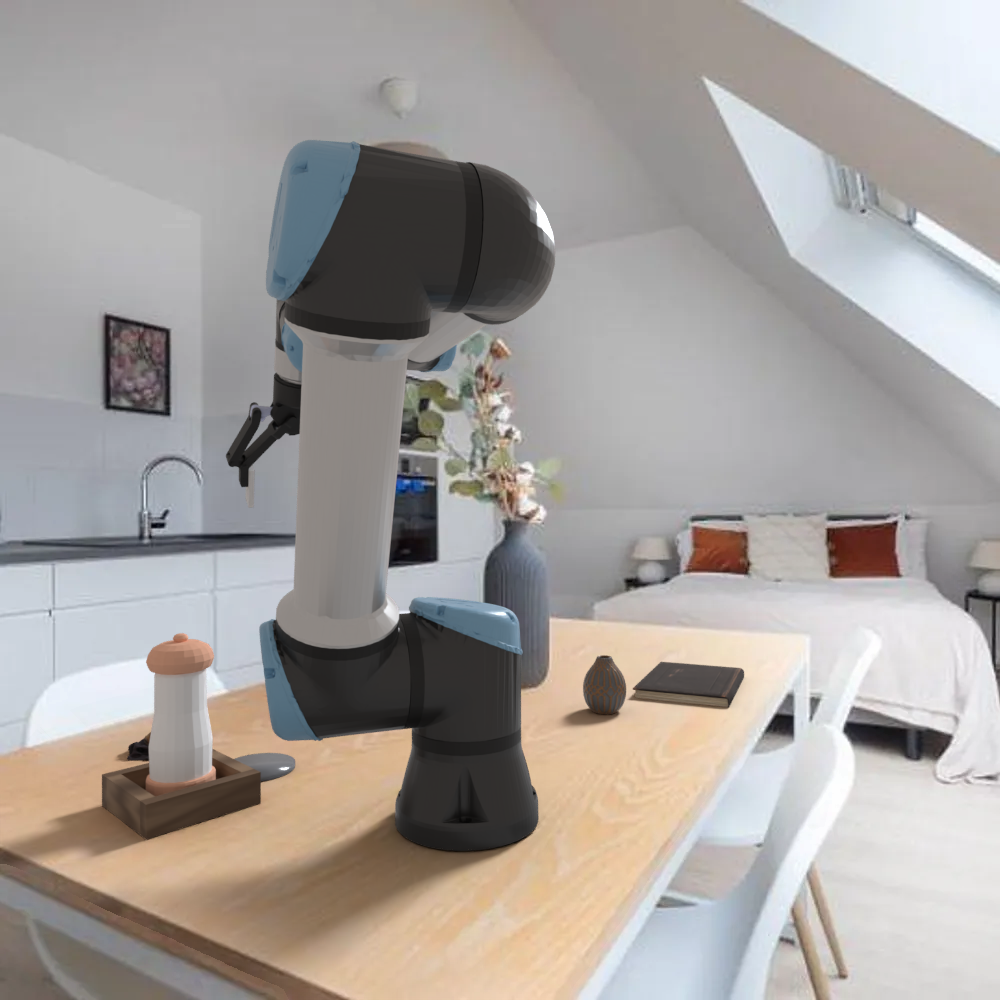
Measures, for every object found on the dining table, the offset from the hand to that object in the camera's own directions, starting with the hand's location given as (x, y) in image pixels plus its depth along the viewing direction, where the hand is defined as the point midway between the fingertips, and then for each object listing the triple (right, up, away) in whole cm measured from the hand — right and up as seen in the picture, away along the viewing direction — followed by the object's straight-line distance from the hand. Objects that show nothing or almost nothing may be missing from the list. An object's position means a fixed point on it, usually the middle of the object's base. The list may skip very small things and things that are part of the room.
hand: (294, 499), depth 119 cm
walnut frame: (-3, -34, -34) cm, 49 cm away
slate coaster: (+2, -34, -23) cm, 41 cm away
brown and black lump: (-14, -35, -14) cm, 40 cm away
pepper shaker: (-3, -34, -34) cm, 49 cm away
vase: (+49, -34, +2) cm, 60 cm away
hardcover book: (+67, -35, +18) cm, 78 cm away
